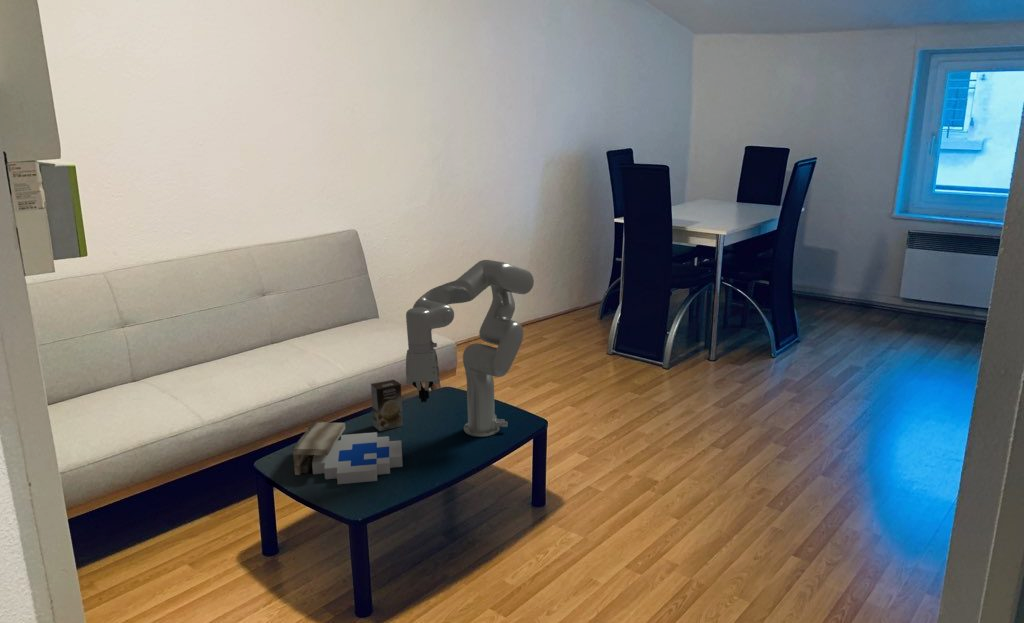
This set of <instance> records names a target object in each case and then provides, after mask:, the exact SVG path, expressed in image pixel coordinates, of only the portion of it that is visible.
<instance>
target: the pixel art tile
mask: <svg viewBox="0 0 1024 623" xmlns="http://www.w3.org/2000/svg"><path fill="white" fill-rule="evenodd" d="M402 446H403V445H402V439H401V440H400V439H399V440H390V436H389V435H388V436H378V432H377V431H376V432H375V431H374V432H362V433H351V434H350V433H349V434H341V436H340V439H338V440H337V442H336V443H335V445H334V446H333V448H332V449H331V451H330V452H329V454H328V455H314V456H313V457H312V467H311V468H312V474H313V475H321V474H322V473H323V474H324V479H325V480H330V479H336V480H337V485H343V484H344V485H345V484H347V485H348V484H354V483H355V484H357V483H365V482H366V483H367V482H369V483H370V482H378V475H380V476H381V475H388V474H391V469H393V468H402V467H403V466H404V464H403V450H402V448H403V447H402Z"/></svg>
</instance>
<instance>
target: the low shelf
mask: <svg viewBox="0 0 1024 623" xmlns="http://www.w3.org/2000/svg"><path fill="white" fill-rule="evenodd" d="M345 430H346V423H345V422H324V421H322V422H319V421H318V422H316V421H315V422H314V421H313V422H312V423H311V424H310V425H309V426H308V428H307V429H306V430H305V432H304V434H303V435H302V436H301V437H300V439H298V441H297V443H296V444H295V445H294V446H293V447H292V456H293V457H292V458H293V466H294V475H296V476H300V475H301V474H303V473H304V474H307V473H309V472H310V470H311V468H312V462H313V455H328V454H329V452H330V451H331V449H332V448H333V446H334V445H335V443H336V442H337V440H340V438H341V435H343V433H344V432H345Z"/></svg>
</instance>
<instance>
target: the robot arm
mask: <svg viewBox="0 0 1024 623" xmlns="http://www.w3.org/2000/svg"><path fill="white" fill-rule="evenodd" d="M534 279H535V278H534V276H533V274H532V273H531V272H530V271H529V270H528V269H525V268H522V267H518V266H515V265H512V264H510V263H507V262H504V261H499V260H498V261H497V260H491V259H482V260H479V261H478V262H477V263H475V264H474V265H473V266H471V268H469V269H468V270H467V271H465V272H464V273H463V274H461V276H459V277H458V278H456V280H453V281H449V282H445V283H443V284H441V285H438V286H435V287H433V288H431V289H429V290H428V291H426V292H425V293H424V294H422V296H420V297H419V298H418V299H417V300H416V301H415V303H413V307H412V308H409V309H408V310H406V313H405V319H406V334H407V345H408V349H407V350H406V354H405V376H406V378H405V379H406V381H405V384H406V385H410V386H414V388H416V389H417V391H418V397H419V398H418V399H420V401H421V403H427V401H428V399H430V388H431V387H432V386H435V385H438V384H440V382H441V379H440V377H439V375H440V366H439V360H438V354H437V351H436V348H438V342H434V341H433V337H432V336H433V335H432V330H433V329H440V328H445V327H447V326H449V325H450V324H451V323H452V322H453V320H454V318H455V311H454V310H453V308H452V307H451V306H450V305H455V304H456V305H457V304H464V303H467V302H471V301H473V300H475V299H476V297H477V296H479V295H480V294H481V293H482V292H484V291H485V290H486V289H487V288H488V287H490V288H491V293H492V294H491V295H492V301H491V303H490V307H489V309H488V311H487V313H486V315H485V317H484V319H483V321H482V324H481V325H480V328H479V333H478V335H479V338H480V340H482V341H484V342H485V343H488V344H492V345H496V346H497V347H495V346H491V345H488V344H483V343H471V344H469V345H467V346H466V347H465V349H464V350H463V353H462V363H463V366H464V371H465V378H466V379H465V380H466V402H467V423H465V424H464V426H463V431H464V432H465V434H467V435H469V436H471V437H475V438H476V437H478V438H479V437H480V438H484V437H490V436H493V435H496V434H497V433H498V432H500V427H502V428H508V421H505V419H503V418H500V419H499V418H497V414H496V413H495V411H496V410H495V406H496V405H495V381H494V377H495V378H496V377H497V378H501V377H502V378H503V377H504V376H506V375H507V373H509V370H510V369H511V367H512V365H513V363H514V360H515V358H516V356H517V354H518V352H519V350H520V348H521V346H522V343H523V340H524V328H523V326H522V325H521V323H520V322H518V321H516V320H513V319H512V318H513V316H514V314H515V310H516V302H515V299H514V296H513V294H517V295H518V294H519V295H527V294H528V293H530V292H531V291H532V290H533V287H534V283H535V280H534ZM423 383H424V386H423Z"/></svg>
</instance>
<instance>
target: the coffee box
mask: <svg viewBox="0 0 1024 623" xmlns="http://www.w3.org/2000/svg"><path fill="white" fill-rule="evenodd" d="M370 388H371V389H370V390H371V410H372V425H373V427H374V428H375V429H377V431H379V432H382V431H387V430H390V429H391V430H392V429H396V428H399V427H403V426H404V424H403V405H402V404H403V402H402V384H401V383H400V382H399V381H397V380H395V379H390V380H384V381H380V382H379V381H378V382H374V383H373V382H372V383H370Z"/></svg>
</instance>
